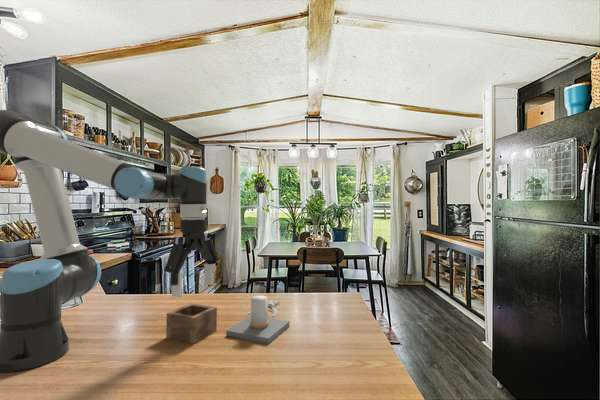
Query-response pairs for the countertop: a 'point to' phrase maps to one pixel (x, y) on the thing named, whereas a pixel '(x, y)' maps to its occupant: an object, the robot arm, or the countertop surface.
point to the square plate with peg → (258, 324)
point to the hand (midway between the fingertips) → (193, 290)
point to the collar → (191, 323)
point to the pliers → (272, 304)
